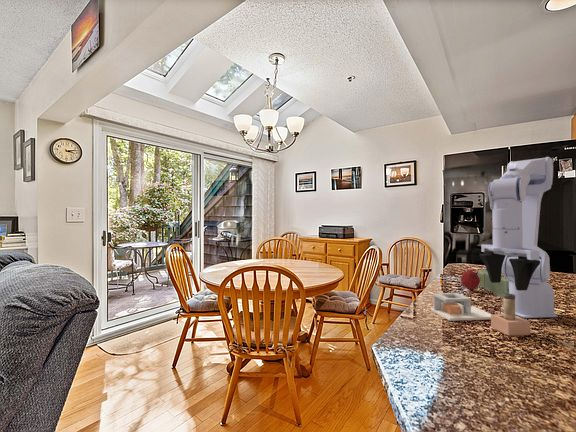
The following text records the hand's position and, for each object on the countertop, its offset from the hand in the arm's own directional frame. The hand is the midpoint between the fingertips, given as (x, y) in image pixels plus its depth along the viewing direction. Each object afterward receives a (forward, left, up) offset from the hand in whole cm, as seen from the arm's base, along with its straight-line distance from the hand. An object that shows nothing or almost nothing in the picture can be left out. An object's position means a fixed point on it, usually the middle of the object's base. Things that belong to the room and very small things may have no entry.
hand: (507, 286), depth 69 cm
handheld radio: (-22, -29, -11) cm, 38 cm away
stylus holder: (0, +1, -10) cm, 10 cm away
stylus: (0, +1, -10) cm, 10 cm away
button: (+7, -11, -10) cm, 16 cm away
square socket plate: (+3, -11, -10) cm, 16 cm away
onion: (-16, -35, -11) cm, 40 cm away
